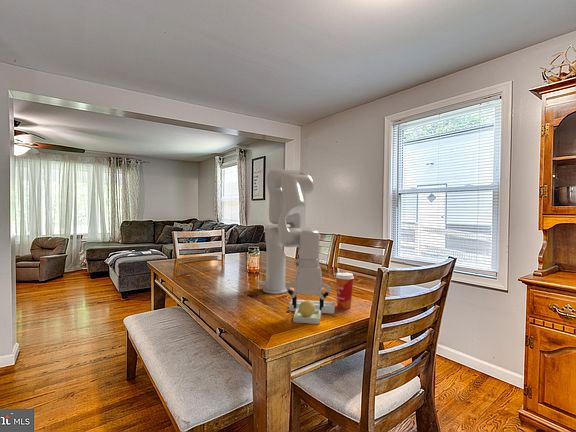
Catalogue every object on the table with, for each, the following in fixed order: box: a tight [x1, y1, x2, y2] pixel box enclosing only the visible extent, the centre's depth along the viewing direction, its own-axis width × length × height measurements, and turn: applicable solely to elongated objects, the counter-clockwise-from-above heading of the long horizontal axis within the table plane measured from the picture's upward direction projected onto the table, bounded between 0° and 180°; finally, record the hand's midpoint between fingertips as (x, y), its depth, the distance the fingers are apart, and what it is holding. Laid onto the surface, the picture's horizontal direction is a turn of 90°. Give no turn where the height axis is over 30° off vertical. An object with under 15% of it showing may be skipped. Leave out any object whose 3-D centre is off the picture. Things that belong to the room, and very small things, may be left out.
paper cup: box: [335, 272, 355, 310], centre depth 126 cm, size 8×8×14 cm
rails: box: [288, 298, 336, 315], centre depth 122 cm, size 18×5×3 cm, turn 81°
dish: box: [292, 308, 322, 325], centre depth 113 cm, size 10×10×2 cm
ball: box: [299, 299, 315, 317], centre depth 113 cm, size 6×6×6 cm
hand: (307, 308), depth 113 cm, fingers open, 9 cm apart
